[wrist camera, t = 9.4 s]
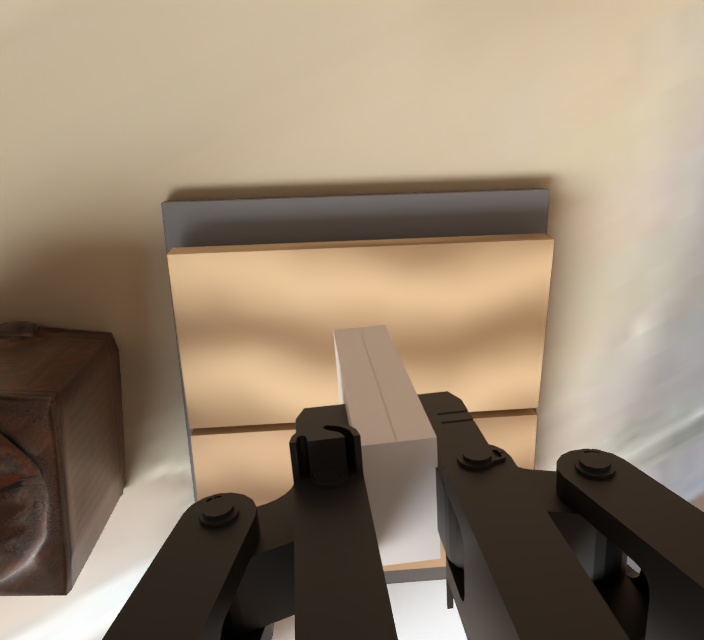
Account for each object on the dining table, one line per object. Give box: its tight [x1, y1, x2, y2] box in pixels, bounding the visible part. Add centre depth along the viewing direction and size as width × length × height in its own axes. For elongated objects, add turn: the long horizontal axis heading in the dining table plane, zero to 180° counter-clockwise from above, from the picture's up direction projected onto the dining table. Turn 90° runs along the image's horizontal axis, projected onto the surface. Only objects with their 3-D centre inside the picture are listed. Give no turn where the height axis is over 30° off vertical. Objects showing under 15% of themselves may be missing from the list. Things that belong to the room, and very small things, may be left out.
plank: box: [167, 233, 554, 429], centre depth 34 cm, size 10×20×2 cm, turn 92°
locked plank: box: [191, 408, 537, 571], centre depth 37 cm, size 10×20×2 cm, turn 92°
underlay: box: [161, 189, 549, 584], centre depth 37 cm, size 25×21×1 cm
